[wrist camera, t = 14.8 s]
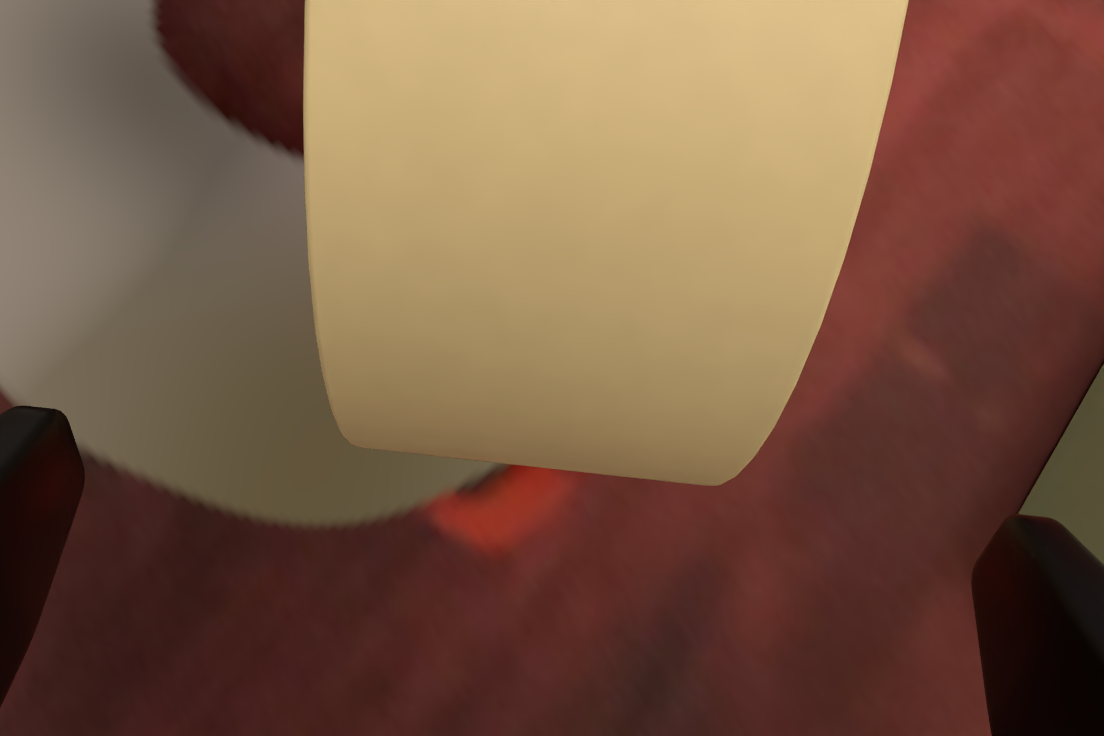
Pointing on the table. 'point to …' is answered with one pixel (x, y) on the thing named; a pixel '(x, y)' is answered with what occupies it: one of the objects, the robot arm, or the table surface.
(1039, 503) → the green divided tray
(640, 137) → the masking tape roll
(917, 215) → the table surface
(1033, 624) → the robot arm
